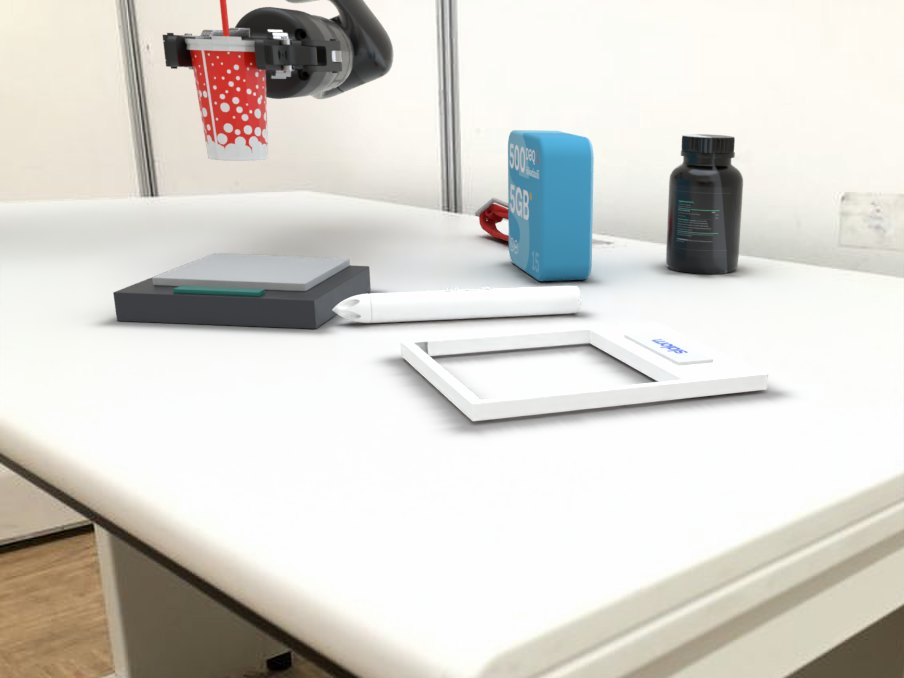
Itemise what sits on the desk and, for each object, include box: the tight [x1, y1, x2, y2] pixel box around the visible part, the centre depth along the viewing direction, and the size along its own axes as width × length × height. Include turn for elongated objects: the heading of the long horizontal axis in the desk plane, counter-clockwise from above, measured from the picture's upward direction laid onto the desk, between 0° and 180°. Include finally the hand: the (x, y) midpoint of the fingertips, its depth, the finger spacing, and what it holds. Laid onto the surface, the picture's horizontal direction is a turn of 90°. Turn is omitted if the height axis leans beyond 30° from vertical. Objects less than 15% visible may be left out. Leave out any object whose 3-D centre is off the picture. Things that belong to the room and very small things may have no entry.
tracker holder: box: [474, 197, 509, 243], centre depth 116 cm, size 12×4×10 cm
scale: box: [112, 252, 372, 330], centre depth 83 cm, size 14×14×3 cm
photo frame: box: [399, 321, 769, 422], centre depth 67 cm, size 15×1×18 cm
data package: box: [507, 129, 595, 282], centre depth 98 cm, size 12×4×12 cm, turn 20°
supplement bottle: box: [665, 133, 744, 275], centre depth 102 cm, size 7×7×12 cm
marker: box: [332, 285, 582, 324], centre depth 80 cm, size 18×2×2 cm, turn 111°
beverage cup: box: [185, 0, 269, 162], centre depth 87 cm, size 6×6×14 cm
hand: (216, 53), depth 85 cm, fingers closed on beverage cup, 6 cm apart
